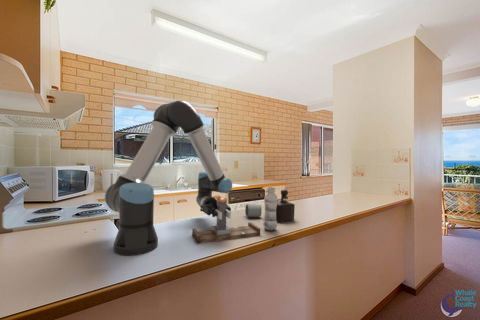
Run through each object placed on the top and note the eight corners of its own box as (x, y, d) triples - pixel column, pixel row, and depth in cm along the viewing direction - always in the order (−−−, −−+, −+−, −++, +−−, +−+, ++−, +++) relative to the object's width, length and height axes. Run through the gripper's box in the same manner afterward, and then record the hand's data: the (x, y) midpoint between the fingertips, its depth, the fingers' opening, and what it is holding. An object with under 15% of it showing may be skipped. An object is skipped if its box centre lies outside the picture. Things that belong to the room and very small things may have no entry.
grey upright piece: (217, 235, 95) (217, 200, 94) (212, 230, 101) (212, 197, 101) (230, 233, 97) (231, 199, 97) (224, 228, 103) (225, 196, 103)
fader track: (197, 243, 90) (197, 236, 90) (192, 235, 99) (192, 228, 99) (260, 235, 101) (260, 228, 101) (250, 228, 110) (250, 222, 110)
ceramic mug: (262, 218, 128) (262, 204, 128) (247, 219, 127) (248, 205, 127) (256, 214, 139) (257, 201, 139) (243, 214, 137) (243, 201, 137)
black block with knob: (267, 217, 130) (268, 186, 130) (284, 216, 134) (284, 185, 134) (282, 225, 116) (283, 190, 115) (300, 223, 120) (301, 189, 119)
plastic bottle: (272, 227, 113) (273, 186, 113) (279, 231, 107) (280, 188, 107) (260, 228, 111) (261, 187, 111) (267, 232, 105) (268, 189, 104)
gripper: (224, 210, 119) (243, 222, 98) (193, 212, 113) (206, 226, 91) (225, 196, 119) (243, 205, 97) (193, 197, 112) (206, 208, 91)
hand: (225, 215), depth 94 cm, fingers closed on grey upright piece, 3 cm apart
